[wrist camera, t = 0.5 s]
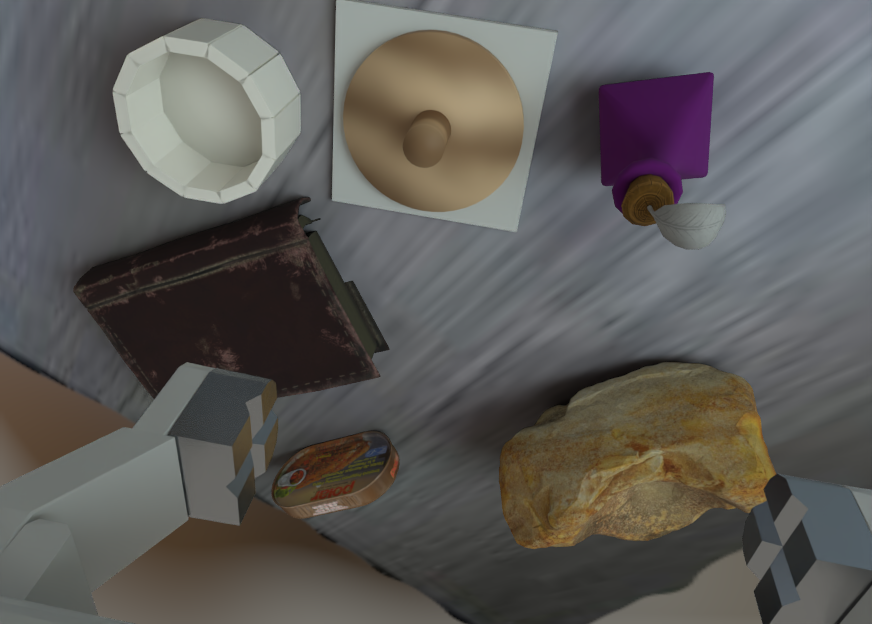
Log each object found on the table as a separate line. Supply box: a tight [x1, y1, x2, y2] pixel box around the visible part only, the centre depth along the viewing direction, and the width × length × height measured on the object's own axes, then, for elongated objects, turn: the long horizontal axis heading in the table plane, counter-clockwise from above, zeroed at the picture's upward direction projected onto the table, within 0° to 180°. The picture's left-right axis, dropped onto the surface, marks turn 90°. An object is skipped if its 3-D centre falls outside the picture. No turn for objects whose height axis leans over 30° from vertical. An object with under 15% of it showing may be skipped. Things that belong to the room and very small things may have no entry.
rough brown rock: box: [499, 362, 776, 549], centre depth 62 cm, size 23×17×15 cm
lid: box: [343, 30, 524, 212], centre depth 50 cm, size 14×14×5 cm
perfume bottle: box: [599, 72, 726, 250], centre depth 42 cm, size 8×8×18 cm
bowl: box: [113, 18, 301, 204], centre depth 51 cm, size 12×12×6 cm
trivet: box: [332, 0, 558, 232], centre depth 52 cm, size 16×16×1 cm
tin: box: [271, 431, 399, 519], centre depth 72 cm, size 15×3×8 cm, turn 115°
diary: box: [73, 197, 389, 399], centre depth 65 cm, size 19×25×5 cm
